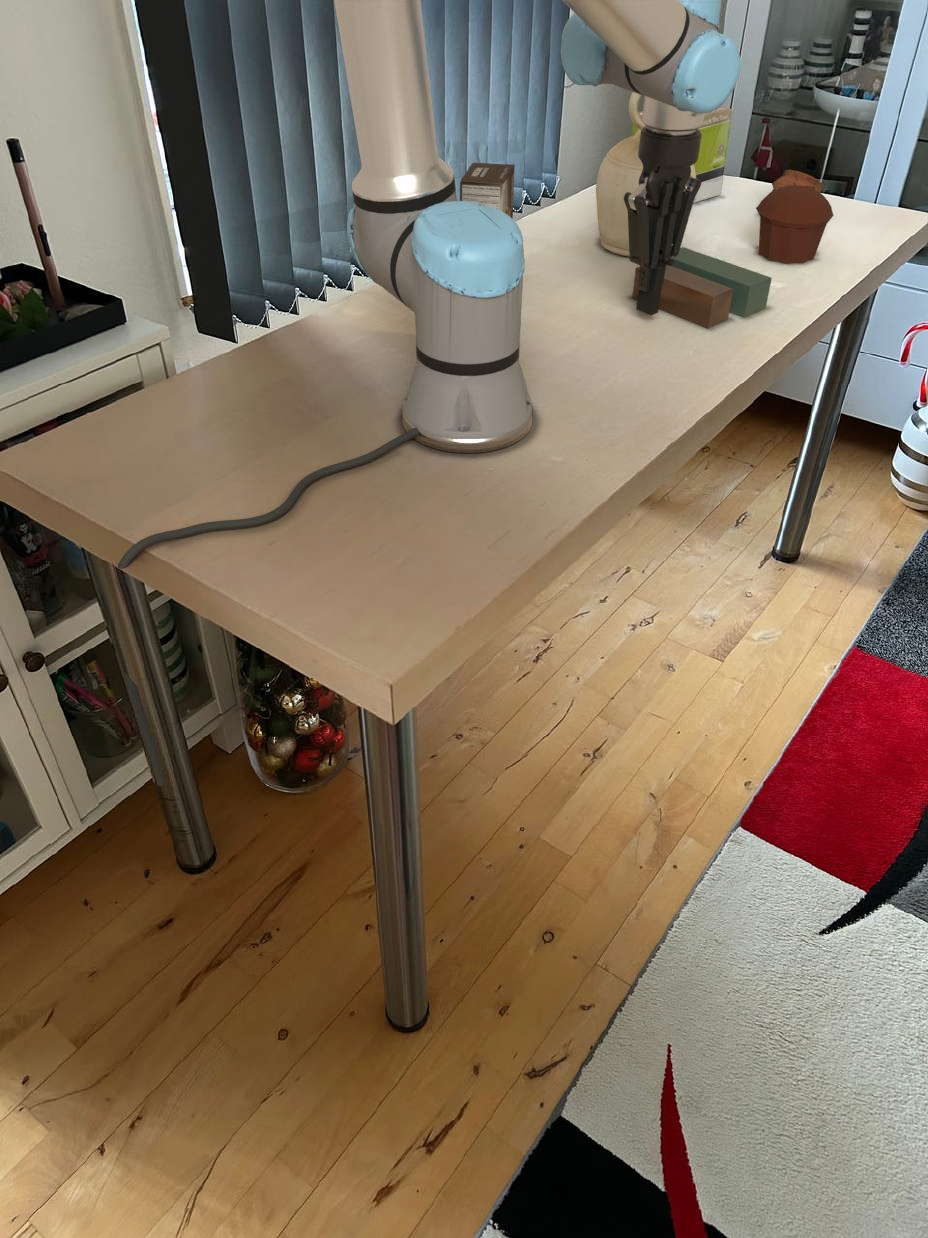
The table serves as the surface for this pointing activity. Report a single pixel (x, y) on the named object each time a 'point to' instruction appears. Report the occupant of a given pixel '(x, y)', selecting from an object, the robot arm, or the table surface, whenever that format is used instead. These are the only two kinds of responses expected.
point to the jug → (620, 185)
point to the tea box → (710, 152)
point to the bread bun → (797, 180)
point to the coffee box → (489, 186)
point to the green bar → (728, 280)
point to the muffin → (792, 223)
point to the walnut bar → (692, 297)
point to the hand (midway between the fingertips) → (647, 310)
